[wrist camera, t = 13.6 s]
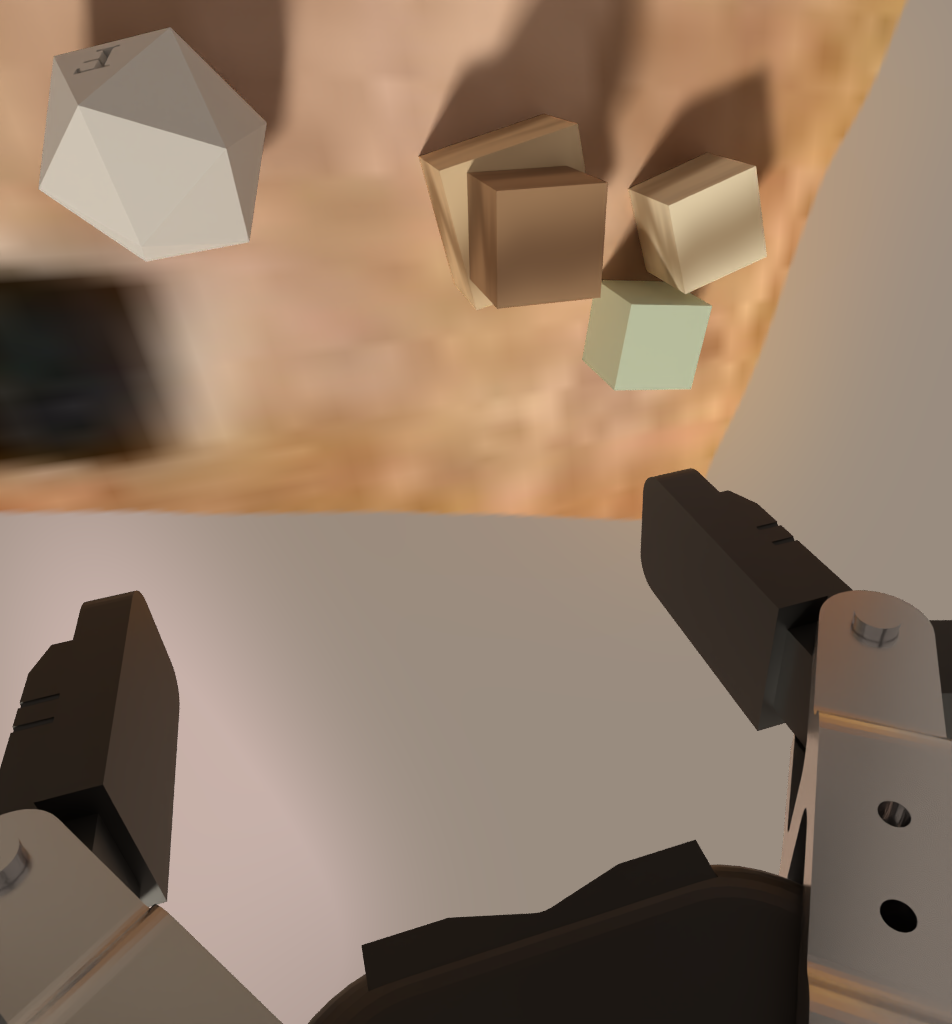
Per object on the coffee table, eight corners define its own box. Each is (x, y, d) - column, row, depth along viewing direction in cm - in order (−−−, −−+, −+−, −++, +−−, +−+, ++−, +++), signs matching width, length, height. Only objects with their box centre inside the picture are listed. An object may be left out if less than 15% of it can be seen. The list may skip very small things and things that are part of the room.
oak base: (417, 155, 40) (439, 170, 36) (542, 113, 41) (577, 123, 37) (453, 283, 44) (476, 310, 40) (566, 243, 45) (601, 266, 41)
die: (283, 80, 37) (163, -50, 28) (308, 268, 38) (200, 207, 28) (125, 116, 39) (-41, 6, 29) (152, 296, 40) (-2, 248, 30)
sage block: (595, 279, 46) (631, 304, 42) (670, 281, 48) (712, 305, 44) (581, 359, 49) (614, 390, 45) (652, 359, 50) (690, 389, 46)
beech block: (627, 188, 44) (668, 205, 40) (706, 152, 44) (756, 165, 40) (645, 270, 47) (685, 294, 43) (719, 236, 47) (766, 256, 43)
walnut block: (466, 172, 37) (496, 191, 33) (566, 165, 38) (607, 182, 34) (469, 279, 39) (497, 308, 35) (562, 270, 40) (600, 297, 36)
